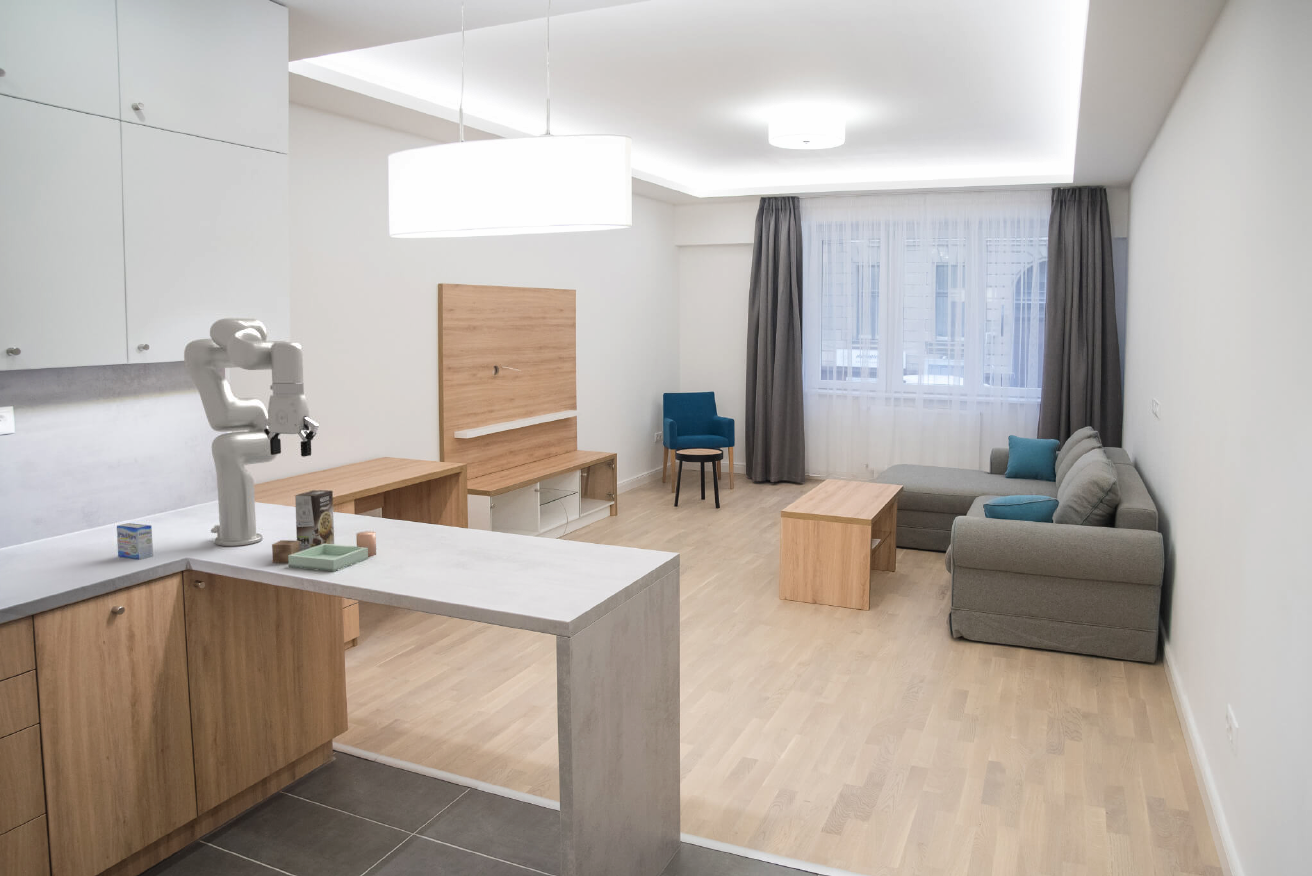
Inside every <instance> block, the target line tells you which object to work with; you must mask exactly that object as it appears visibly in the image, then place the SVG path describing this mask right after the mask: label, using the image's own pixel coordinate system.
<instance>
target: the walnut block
mask: <svg viewBox="0 0 1312 876" xmlns="http://www.w3.org/2000/svg"><path fill="white" fill-rule="evenodd" d="M271 549H272V550H271V551H272V564H289V559H288V555H291V554H294V553H297V552H300V547H299V541H297V540H290V539H289V540H287V539H286V540H283V539H282V540H278V541H277V542H274V543H273V544H271Z"/></svg>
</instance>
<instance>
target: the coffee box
mask: <svg viewBox="0 0 1312 876" xmlns="http://www.w3.org/2000/svg"><path fill="white" fill-rule="evenodd" d="M333 493H334V492H333V490H322V489H321V490H316V489H315V490H314V489H313V490H309V491H306V492H302V493H299V494H298V493H297V494H296V495H294V496H295V526H296V530H295V531H296V541H299V547H300V551H303V550H306V549H309V548H312V547H315V546H318V545H321V544H334V545H335V525H334V524H335V522H334V503H333V502H334V501H333V500H334V498H333V497H334V496H333Z"/></svg>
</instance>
